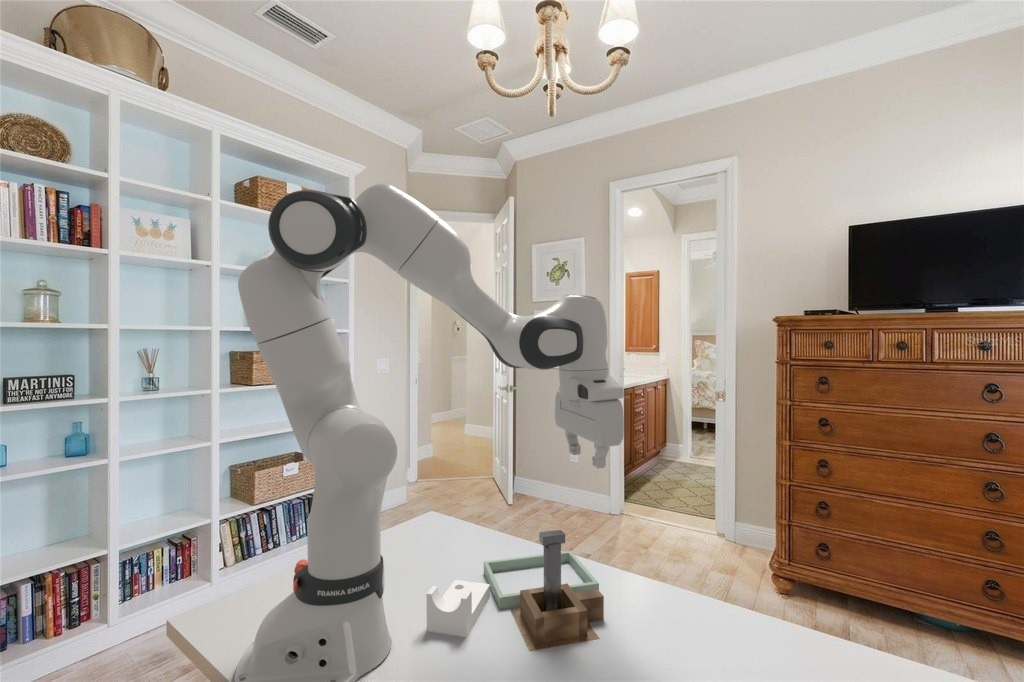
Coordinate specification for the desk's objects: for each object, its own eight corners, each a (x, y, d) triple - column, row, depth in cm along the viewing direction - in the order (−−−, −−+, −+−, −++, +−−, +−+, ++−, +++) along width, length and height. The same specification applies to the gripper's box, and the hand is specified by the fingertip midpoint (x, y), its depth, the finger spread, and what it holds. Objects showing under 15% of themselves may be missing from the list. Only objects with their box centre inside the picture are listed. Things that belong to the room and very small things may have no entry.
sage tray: (499, 614, 87) (499, 597, 87) (483, 575, 101) (483, 561, 101) (599, 598, 92) (599, 583, 92) (570, 564, 106) (570, 550, 106)
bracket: (466, 645, 79) (466, 599, 79) (426, 638, 81) (426, 593, 81) (490, 602, 92) (489, 563, 91) (455, 598, 93) (454, 559, 93)
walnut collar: (535, 643, 77) (535, 618, 77) (520, 612, 86) (520, 590, 86) (612, 630, 81) (612, 606, 81) (590, 601, 89) (590, 580, 89)
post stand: (529, 657, 75) (528, 552, 75) (510, 614, 87) (509, 523, 87) (599, 644, 78) (599, 543, 78) (572, 605, 90) (571, 517, 90)
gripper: (545, 380, 96) (548, 449, 96) (595, 392, 77) (598, 478, 77) (574, 378, 98) (576, 445, 98) (629, 389, 79) (632, 473, 79)
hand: (586, 460), depth 87 cm, fingers open, 8 cm apart
